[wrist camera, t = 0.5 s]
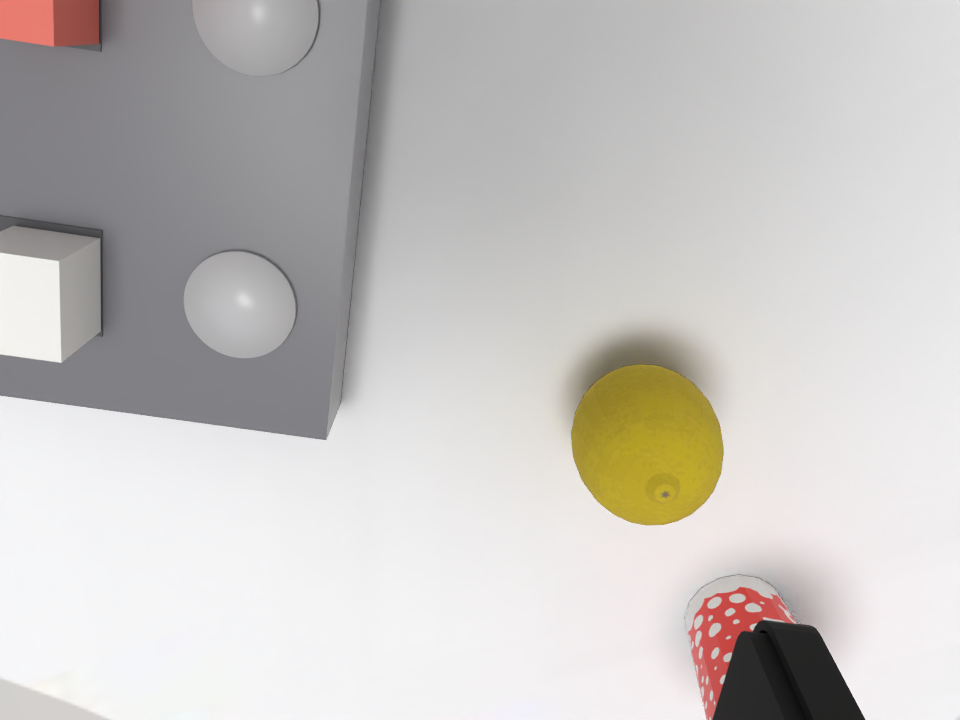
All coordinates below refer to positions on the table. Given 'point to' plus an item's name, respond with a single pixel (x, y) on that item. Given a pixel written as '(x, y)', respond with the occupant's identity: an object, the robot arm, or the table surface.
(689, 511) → the lemon
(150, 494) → the table surface
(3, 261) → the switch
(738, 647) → the robot arm
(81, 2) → the red switch
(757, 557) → the table surface
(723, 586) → the beverage cup
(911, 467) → the table surface
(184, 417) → the switch panel
